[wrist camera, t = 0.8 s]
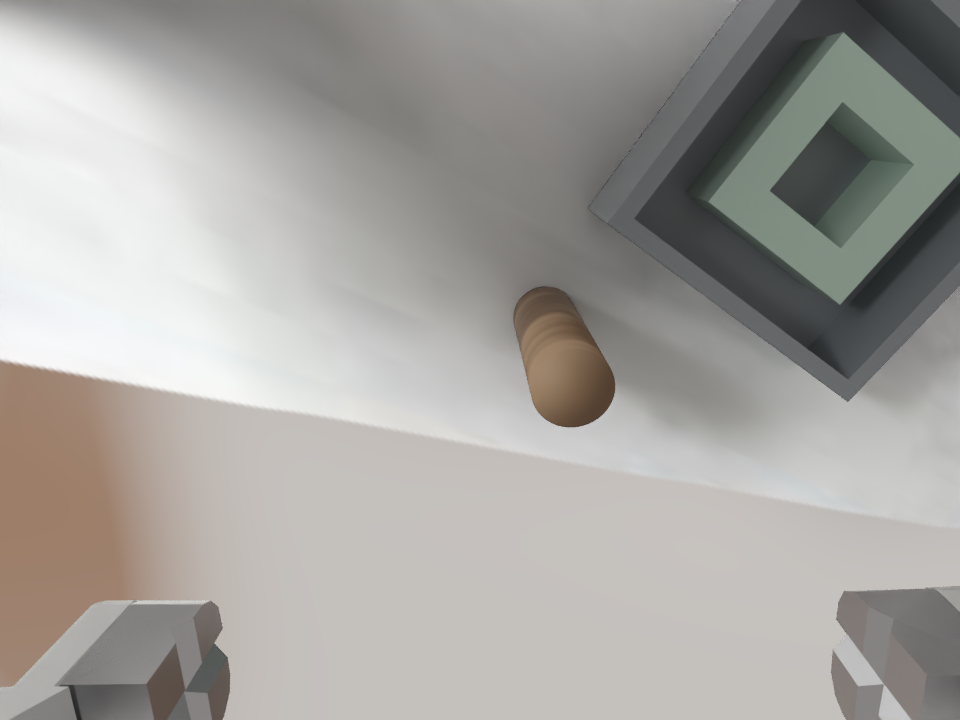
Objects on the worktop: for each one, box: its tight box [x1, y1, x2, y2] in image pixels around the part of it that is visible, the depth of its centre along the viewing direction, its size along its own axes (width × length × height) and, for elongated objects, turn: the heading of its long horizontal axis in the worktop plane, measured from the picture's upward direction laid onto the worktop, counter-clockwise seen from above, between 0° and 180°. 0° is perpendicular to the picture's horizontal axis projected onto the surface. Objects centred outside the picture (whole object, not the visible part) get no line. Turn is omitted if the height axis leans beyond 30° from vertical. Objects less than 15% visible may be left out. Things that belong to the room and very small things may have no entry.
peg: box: [514, 287, 615, 427], centre depth 37 cm, size 4×4×12 cm
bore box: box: [588, 0, 960, 402], centre depth 37 cm, size 18×18×6 cm
